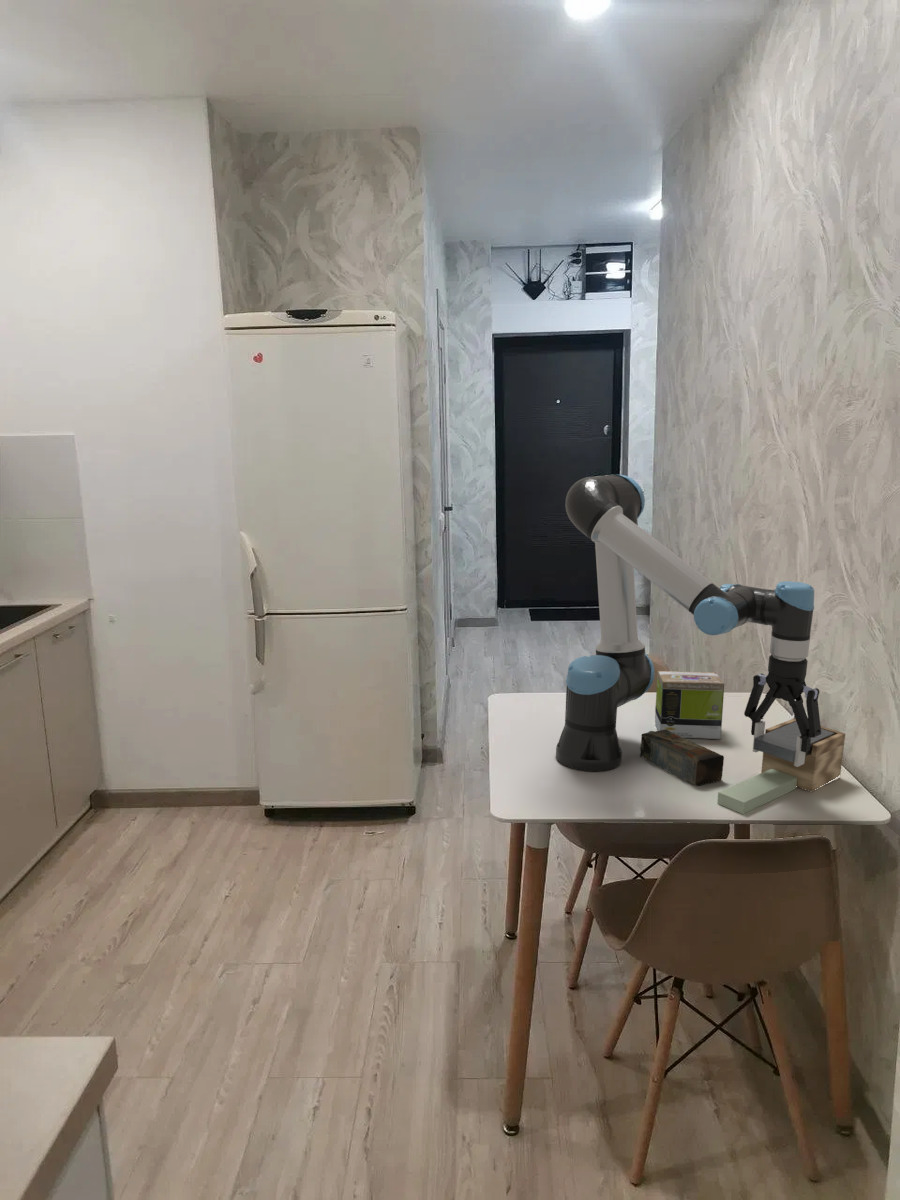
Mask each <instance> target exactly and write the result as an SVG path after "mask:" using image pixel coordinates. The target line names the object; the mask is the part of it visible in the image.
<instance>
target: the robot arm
mask: <svg viewBox="0 0 900 1200" xmlns="http://www.w3.org/2000/svg"><path fill="white" fill-rule="evenodd" d="M645 499H646V498H645V494H644V491H643V489H642V487H641V486H640V484H639V483H638V482H637V481H636V480H635V479H633V477H630V476H628V475H625V474H605V475H597V476H587V477H583V478H581V479H579V480H578V481H576V482H574V484H572V486H571V487H570V488H569V490H568V491H567V494H566V497H565V511H566V514H567V517H568V519H569V520H570V521H571V523H572V525H573V526H574V527H575V528H576V529H577V530H578V531H580V533H582V534H583V535H584V536H585V537H587V538H588V539H589V540H591V541H592V542H593V543H594V545H595V546H594V549H595V561H596V578H597V594H598V596H597V597H598V608H599V609H598V610H599V611H598V612H599V622H600V623H599V625H600V637H601V640H600V642H599V643H598V644H597V645H596V646H595V654H592V655H589V656H587V655H583V656H580V657H578V658H576V659H574V660H572V661H571V662H570V663H569V665H568V668H567V674H566V677H565V678H566V679H565V683H566V687H565V689H566V690H565V711H564V712H565V713H564V715H565V716H564V717H565V719H564V725H563V728H562V732H561V734H560V737H559V740H558V741H557V745H556V747H555V758H556V760H557V761H558V762H559V763H560V764H562V765H563V766H566V767H567V768H571V769H574V770H580V771H585V772H602V771H603V772H605V771H610V770H614V769H616V768H617V767H619V766H620V765H621V764H622V761H623V749H622V747H621V746H620V741H619V737H618V733H617V718H618V717H617V715H618V708H620V707H621V706H623V705H625V704H627V703H631V702H632V701H636V700H638V699H639V698H641V697H642V696H643V695H644V694H645V693H647V691H649V689H650V688H651V687H652V685H653V683H654V680H655V672H656V671H655V667H654V663H653V660H652V659H651V658H649V656H648V654H647V653H646V646H645V644H644V643H643V642H642V641H641V640H640V639H639V637H638V636H639V634H638V620H637V617H638V616H637V607H636V606H637V605H636V604H637V603H636V587H635V586H636V585H635V570H636V571H637V572H639V573H640V574H641V575H642V576H643V577H645V578H646V579H647V580H648V581H650V582H651V583H652V584H654V586H656V587H658V588H659V589H660V590H662V591H663V592H664V593H665V594H666V595H667V596H669V597H670V598H671V599H672V600H674V601H675V602H676V603H678V604H679V605H681V607H682V608H684V609H685V610H687V611H688V612H690V614H691V615H693V620H694V623H695V625H696V627H697V629H699V631H701V632H702V633H703V634H706V635H709V636H719V635H723V634H727V633H729V632H731V631H732V630H734V629H736V628H738V627H740V626H743V625H745V624H748V623H752V624H759V625H764V626H771V637H770V643H769V644H770V645H769V654H770V655H769V656H768V664H767V665H768V666H767V671H768V673H767V675H765V674H764V673H759V674H756V675H753V677H752V680H753V681H752V682H753V683H752V684H753V685H752V687H751V692H750V695H749V697H748V701H747V703H746V707H745V709H744V713H743V714H744V717H746V718H748V719H750V720H751V728H750V733H751V736H753V744H752V753H759V751H758V750H755V749H754V739H755V738H756V737H759V736H761V735H764V734H765V730H766V720H764V717H765V716H766V714H767V712H768V711H769V709H770V708H771V706H773V703H774V702H775V700H777V699H778V700H780V699H781V700H784V701H786V702H788V704H789V707H791V709H792V713H793V715H794V718H795V719H796V721H797V724H798V727H799V730H800V733H801V735H800V736H798V737H797V744H796V753H795V762H794V766H796V767H799V766H801V765H803V764H804V761H805V752H807V751H809V750H810V743H811V737H812V738H814V737H816V736H819V735H821V719H820V717H821V716H820V709H819V695H820V689H819V688H817V687H816V688H813V687H810V686H807V684H806V676H807V669H808V664H809V663H808V659H807V658H808V657H809V652H810V651H809V650H810V642H811V641H810V640H811V631H812V624H813V616H814V610H815V588H814V587H813V586H812V585H810V584H809V583H806V582H799V581H791V580H790V581H779V582H777V584H776V585H775V589H767V588H761V587H756V586H755V587H754V586H749V585H748V586H747V585H742V584H739V583H737V584H736V583H735V584H733V583H732V584H731V583H724V584H722V585H721V586H720V587H718V585H716V584H714V583H713V582H712V581H711V580H710V579H708V578H706V576H704V575H703V574H702V573H700V572H699V571H698V570H697V569H695V568H694V567H692V566H691V565H690V564H688V563H687V562H686V561H684V559H682V558H681V557H679V556H678V555H677V554H676V553H674V552H673V551H672V550H671V549H669V548H668V547H667V546H665V545H664V544H663V543H661V542H660V541H659V540H657V539H656V538H655V537H653V536H652V535H651V534H649V533H648V532H647V531H646V530H644V529H643V528H642V527H640V526H639V525H638V523H639V521H638V519H639V518H640V516H641V515H642V513H643V512H644V508H645V504H646V500H645ZM766 684H767V686H768V688H769V689H768V691H767V693H766V694H765V696H764V698H763V700H762V701H761V703H760V700H761V697H762V694H763V692H764V688H765V685H766ZM803 693H804V698H805V699H806V701H805V706H806V709H805V706H804V700H803V696H802V694H803ZM759 703H760V704H759ZM758 705H759V706H758Z"/></svg>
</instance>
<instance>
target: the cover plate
mask: <svg viewBox="0 0 900 1200" xmlns="http://www.w3.org/2000/svg"><path fill="white" fill-rule="evenodd" d="M834 734H835V733H833V732H830V731H827V730H824V729H821V735H819V736H816V737H814V738H812V737H811V743H810V750H809V751H807V752H805V756H807V755H809V754H811V753H812V745H813V744H815V743H817V742H820V741H822V740H824V739H827V738H829V737H831V736H834ZM800 735H801V733H800V730H799V727H798V724H797V721H796V722H793V723H791V724H788V725H786V726H783V727H781V728H778V729H776V730H773V731H771V732H768V733H766V734H765V733H764V735H761V736H759V737H756V738H755V739H754V738H753V741H754V749H755V750H758V752H762V753H763V752H764V753H767V754H770V755H773V756H775V757H778V758H781V759H784V760H787V761H790V762H794V761H795V753H796V744H797V737H798V736H800Z"/></svg>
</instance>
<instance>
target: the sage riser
mask: <svg viewBox="0 0 900 1200" xmlns="http://www.w3.org/2000/svg"><path fill="white" fill-rule="evenodd" d="M796 785H797V777H794V776H791V775H788V774H786V773H783V772H780V771H777V770H774V769H770V770H768V771H765V772H763V773H758V774H757V775H754V776H752V777H750V778H747V779H745V780H743V781H741V782H738V783H736V784H734V785H732V786H729V787H727V788H725V789H722V790H720V791H718V793H717V805H721V806H723V807H725V808H727V809H730V810H733V811H735V812H737V813H739V814H742V815H744V814H746V813H748V812H750V811H752V810H754V809H757V808H758V807H760V806H763V805H766V804H767V803H769V802H771V801H773V800H775V799H777V798H779V797H782V796H784V795H787V794H788V793H790V792H792V791H794V790H796V789H797V787H796ZM795 788H796V789H795Z"/></svg>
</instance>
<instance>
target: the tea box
mask: <svg viewBox="0 0 900 1200" xmlns="http://www.w3.org/2000/svg"><path fill="white" fill-rule="evenodd" d="M656 675H657V677H656V691H655V692H656V694H655V711H654V714H655V715H654V723H655V726H656V729H657V731H659V730H668V731H670V732H672V733H674V734H676V735H678V736H681V737H683V738H685V739H710V740H721V738H722V729H723V728H722V724H723V712H724V710H723V709H724V698H725V697H724V696H725V683H724V682H723V681H722V678H720V676H719V675H718V674H717V672H713V671H711V672H709V671H678V670H677V671H676V670H675V671H673V670H670V671H669V670H657V674H656Z"/></svg>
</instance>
